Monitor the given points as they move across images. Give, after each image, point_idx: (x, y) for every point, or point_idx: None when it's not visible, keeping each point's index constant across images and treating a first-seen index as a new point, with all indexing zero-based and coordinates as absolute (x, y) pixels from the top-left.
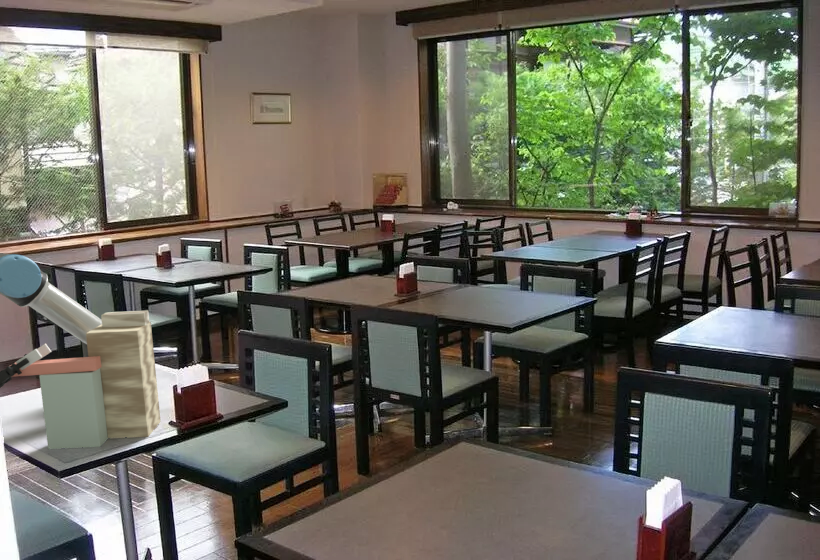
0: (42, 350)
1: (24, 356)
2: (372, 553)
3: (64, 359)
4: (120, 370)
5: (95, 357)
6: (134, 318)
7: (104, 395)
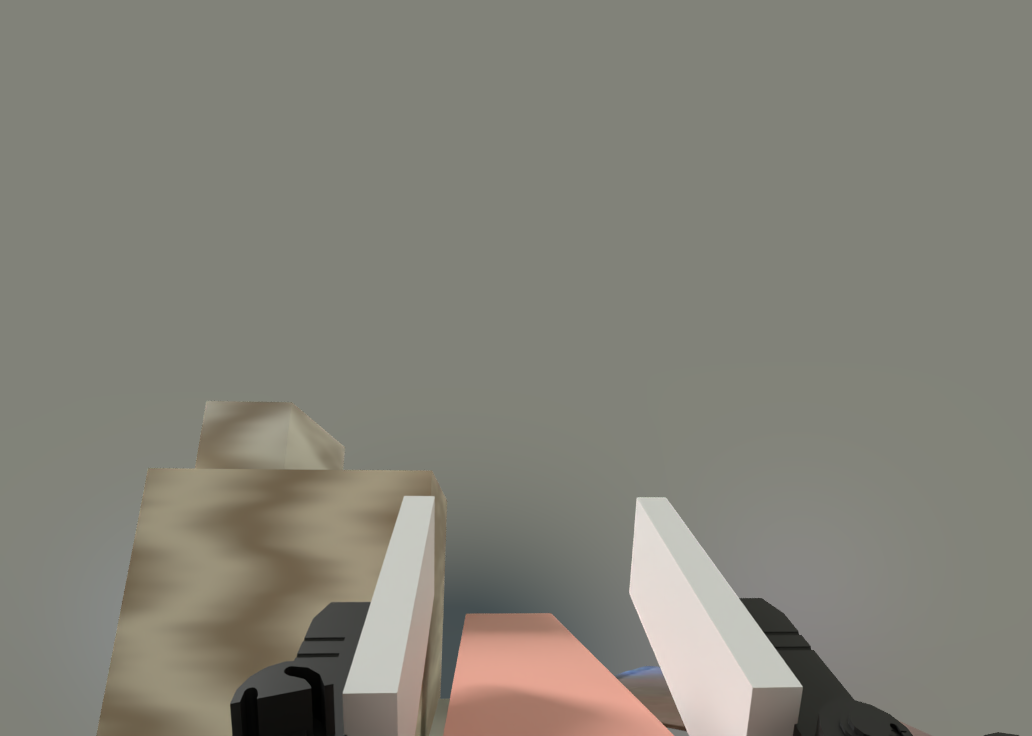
0: (429, 571)
1: (721, 578)
2: (913, 727)
3: (493, 647)
4: (434, 704)
5: (495, 615)
6: (332, 461)
7: None
